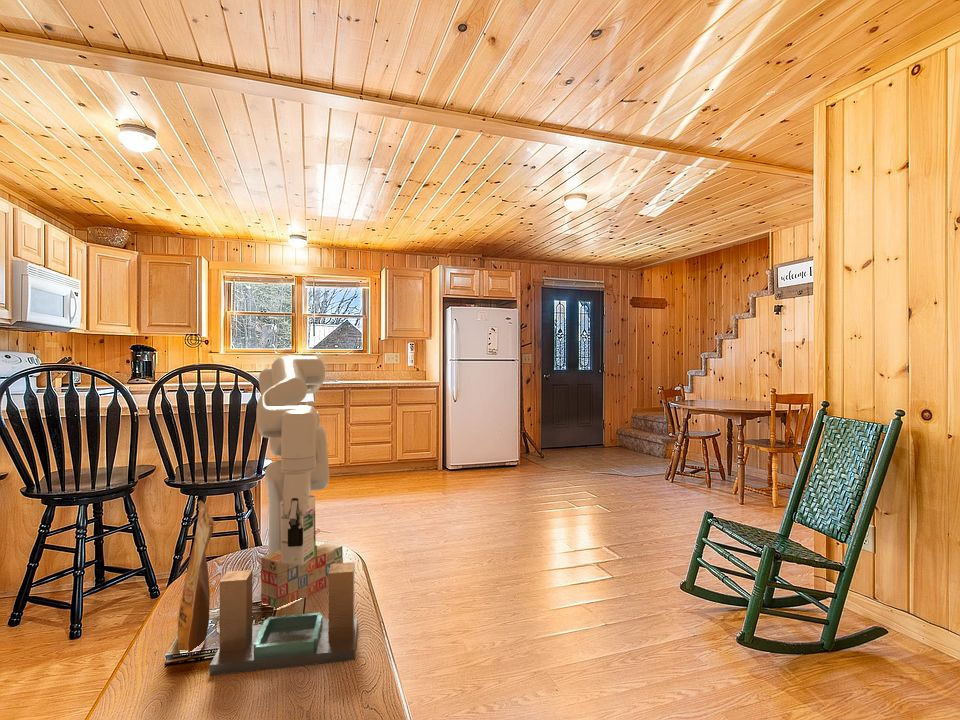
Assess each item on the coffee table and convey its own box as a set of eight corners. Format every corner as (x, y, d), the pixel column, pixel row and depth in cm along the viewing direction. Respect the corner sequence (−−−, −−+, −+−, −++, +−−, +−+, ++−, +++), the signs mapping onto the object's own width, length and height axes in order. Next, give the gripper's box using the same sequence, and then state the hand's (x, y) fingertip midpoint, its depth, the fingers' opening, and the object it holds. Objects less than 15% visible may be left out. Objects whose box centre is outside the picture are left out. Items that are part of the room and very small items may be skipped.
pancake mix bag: (214, 614, 120) (214, 496, 120) (213, 656, 103) (213, 519, 103) (181, 621, 117) (181, 500, 117) (174, 665, 100) (175, 524, 100)
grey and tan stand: (230, 636, 111) (230, 563, 111) (357, 624, 116) (357, 554, 116) (209, 675, 97) (209, 592, 97) (354, 659, 102) (354, 580, 102)
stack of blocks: (327, 574, 144) (327, 530, 144) (343, 579, 140) (343, 534, 140) (260, 605, 125) (260, 555, 125) (277, 612, 122) (277, 561, 122)
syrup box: (303, 566, 115) (303, 502, 114) (279, 563, 116) (279, 500, 116) (316, 556, 120) (316, 495, 120) (293, 553, 122) (293, 493, 121)
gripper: (288, 456, 125) (287, 527, 126) (273, 473, 108) (273, 555, 109) (319, 455, 127) (319, 525, 127) (310, 472, 110) (310, 553, 110)
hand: (298, 538), depth 118 cm, fingers closed on syrup box, 7 cm apart
